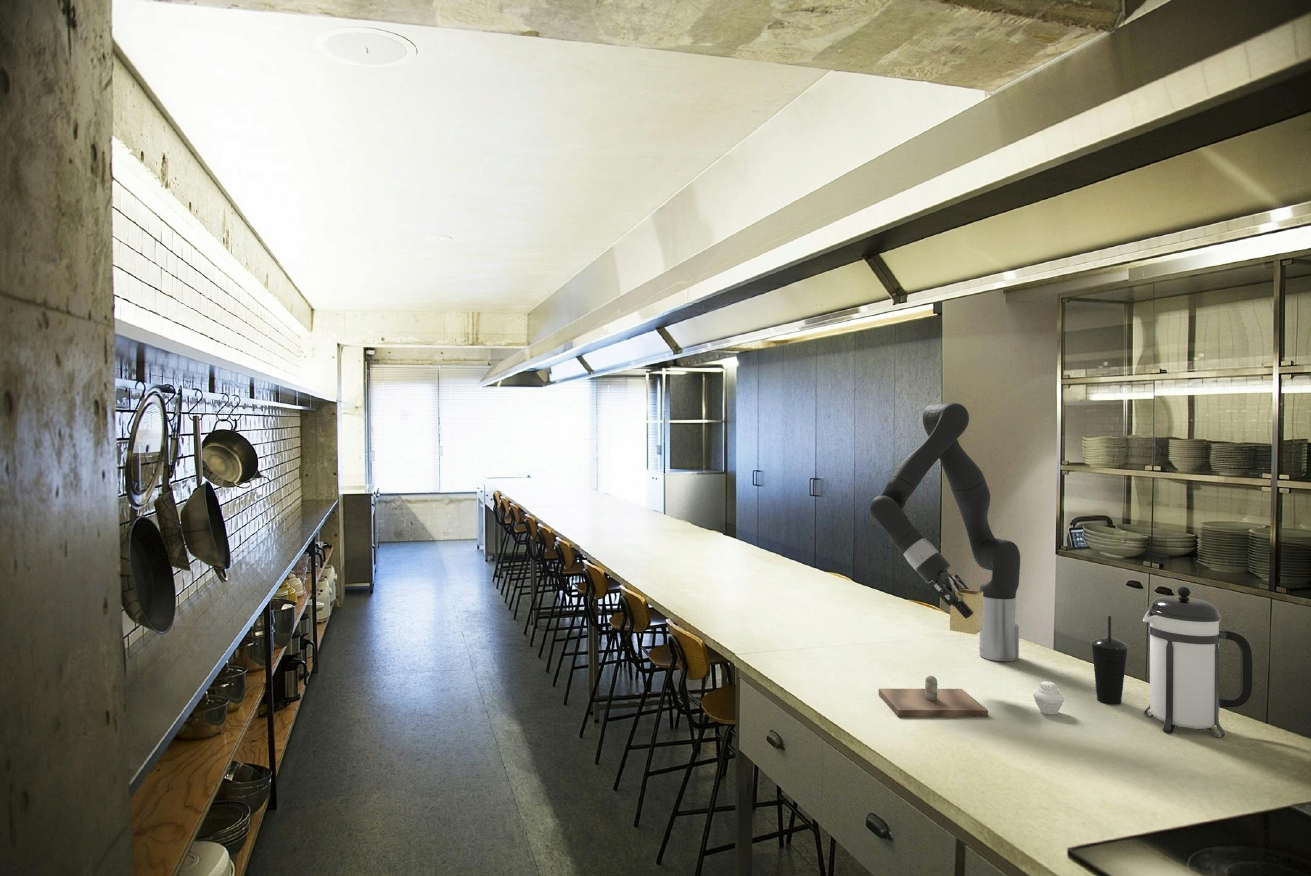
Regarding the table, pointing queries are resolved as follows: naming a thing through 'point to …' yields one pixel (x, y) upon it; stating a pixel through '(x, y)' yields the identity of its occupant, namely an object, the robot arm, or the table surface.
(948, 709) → the post board
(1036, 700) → the muffin
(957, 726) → the table surface
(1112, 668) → the drinking cup
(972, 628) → the wooden sleeve
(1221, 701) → the coffee press
